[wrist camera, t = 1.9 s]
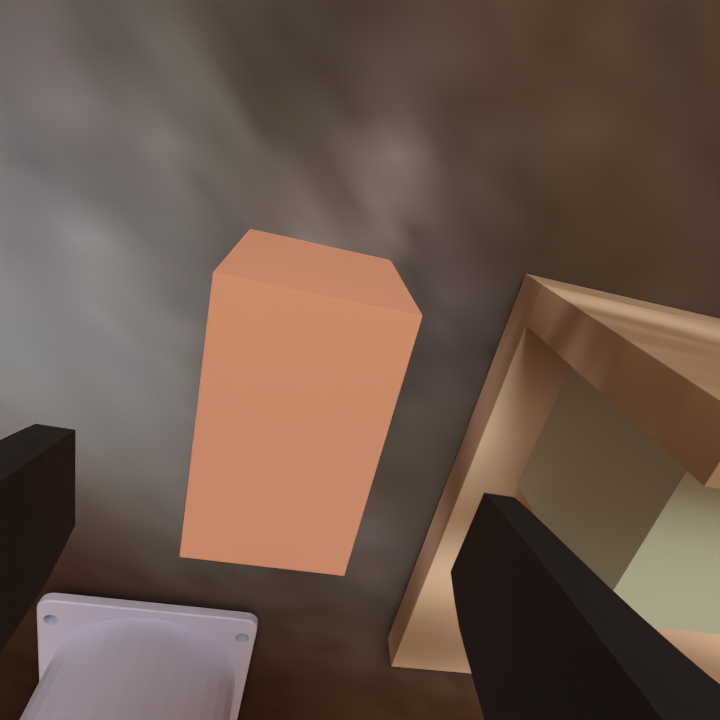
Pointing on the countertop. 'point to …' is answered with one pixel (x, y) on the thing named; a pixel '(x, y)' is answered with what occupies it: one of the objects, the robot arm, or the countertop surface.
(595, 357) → the shelf
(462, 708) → the countertop surface
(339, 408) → the salmon orange block
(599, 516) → the sage green block
